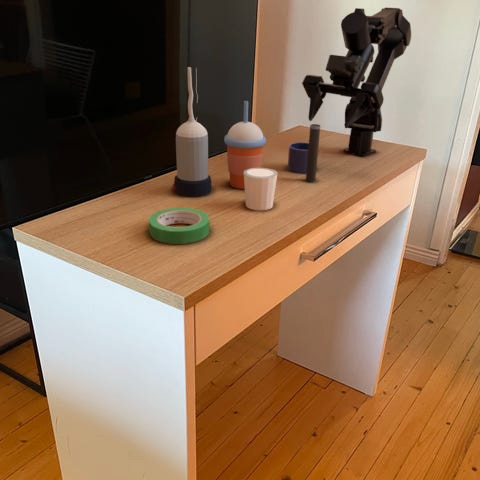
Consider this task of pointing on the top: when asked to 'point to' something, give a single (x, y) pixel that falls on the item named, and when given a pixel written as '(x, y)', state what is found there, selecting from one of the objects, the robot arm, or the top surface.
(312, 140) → the gray cylinder
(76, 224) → the top surface
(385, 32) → the robot arm
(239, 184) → the cup with straw
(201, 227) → the tape roll
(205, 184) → the humidifier
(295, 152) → the blue cup
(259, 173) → the white tapered cup
